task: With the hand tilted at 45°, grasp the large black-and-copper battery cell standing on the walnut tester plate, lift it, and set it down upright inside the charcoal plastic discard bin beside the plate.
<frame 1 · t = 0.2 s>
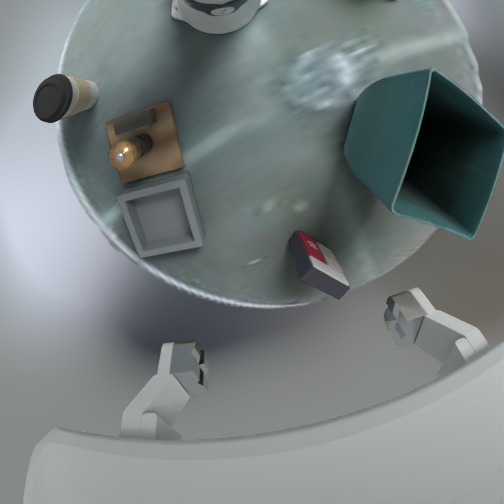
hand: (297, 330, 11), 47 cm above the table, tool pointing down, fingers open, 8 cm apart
grey box: (309, 244, 65), on the table
flower pot: (373, 130, 51), on the table
battery cell: (142, 143, 48), point 1 cm above the table, touching tester plate
coffee cup: (85, 95, 42), on the table
tester plate: (145, 142, 49), on the table
discard bin: (164, 211, 57), on the table
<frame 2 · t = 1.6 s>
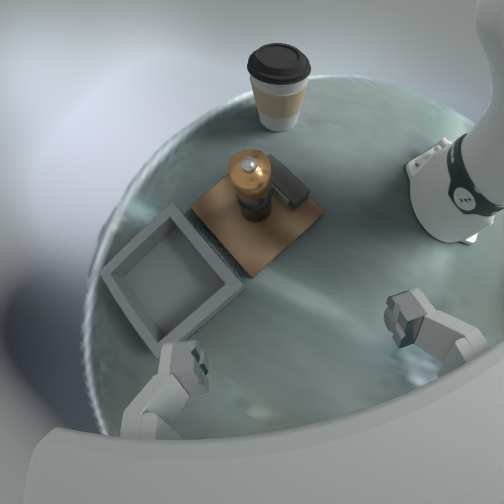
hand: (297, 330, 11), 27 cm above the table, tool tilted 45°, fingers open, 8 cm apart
battery cell: (256, 208, 39), point 1 cm above the table, touching tester plate
coffee cup: (278, 117, 44), on the table
tester plate: (256, 211, 40), on the table
discard bin: (175, 282, 39), on the table
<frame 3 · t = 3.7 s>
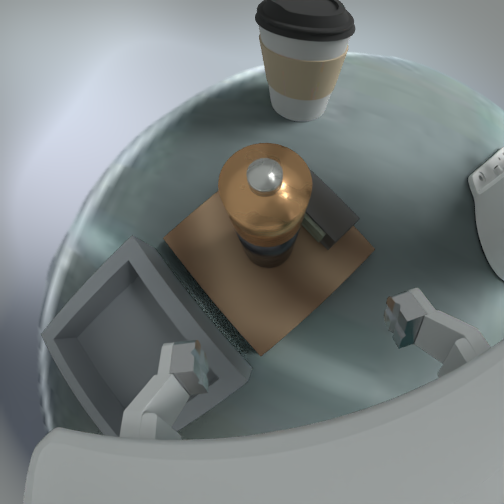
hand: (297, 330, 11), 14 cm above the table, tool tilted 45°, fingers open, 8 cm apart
battery cell: (268, 243, 24), point 1 cm above the table, touching tester plate
coffee cup: (298, 102, 29), on the table
tester plate: (268, 246, 26), on the table
discard bin: (145, 352, 24), on the table
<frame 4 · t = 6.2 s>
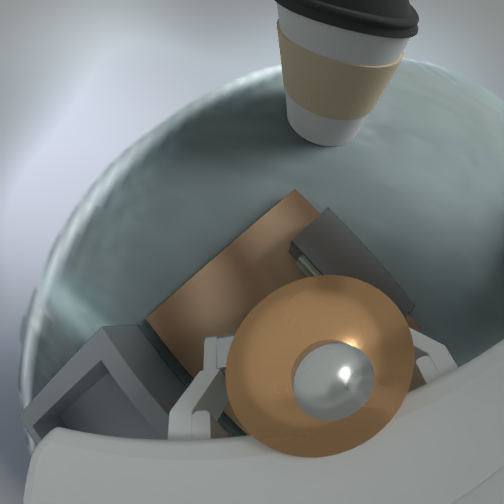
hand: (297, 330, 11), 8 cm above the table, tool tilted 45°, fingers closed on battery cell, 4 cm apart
battery cell: (289, 332, 17), point 2 cm above the table, touching gripper, tester plate
coffee cup: (323, 118, 22), on the table
tester plate: (287, 330, 18), on the table
discard bin: (138, 442, 17), on the table
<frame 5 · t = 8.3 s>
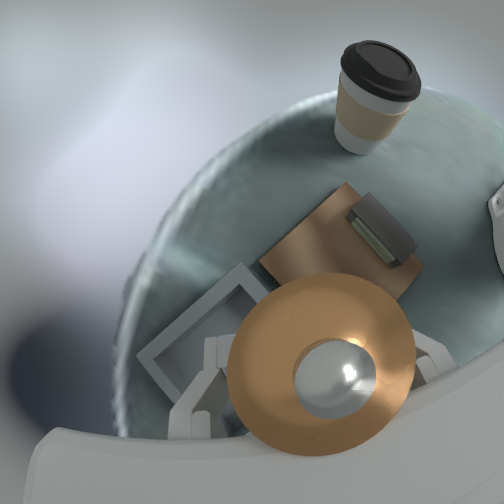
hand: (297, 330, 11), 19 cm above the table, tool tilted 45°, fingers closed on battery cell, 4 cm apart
battery cell: (289, 331, 17), point 13 cm above the table, touching gripper
coffee cup: (357, 135, 33), on the table
tester plate: (345, 266, 30), on the table
discard bin: (240, 360, 29), on the table
when the fingers open (9 cm above the table, at t = 10.9 s): battery cell drops 1 cm, resting on discard bin.
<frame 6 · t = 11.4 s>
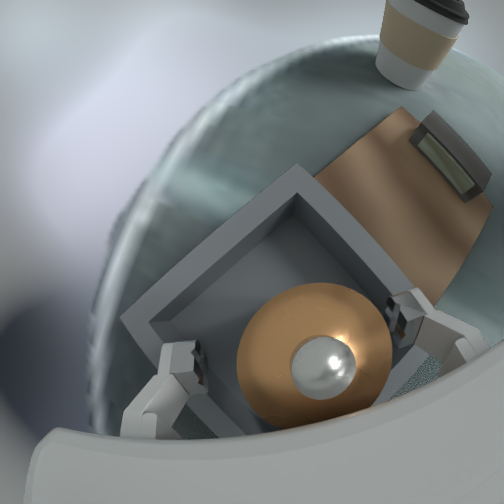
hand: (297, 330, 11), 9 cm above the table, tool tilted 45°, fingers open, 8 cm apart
battery cell: (288, 330, 18), point 1 cm above the table, touching discard bin
coffee cup: (399, 73, 25), on the table
tester plate: (414, 198, 21), on the table
discard bin: (286, 329, 19), on the table
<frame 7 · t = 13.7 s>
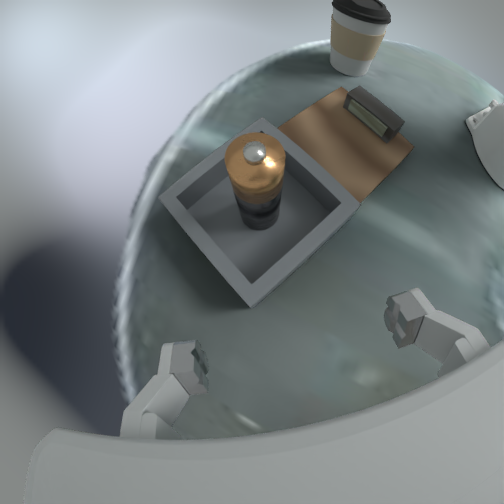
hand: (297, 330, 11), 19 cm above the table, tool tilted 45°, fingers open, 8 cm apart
battery cell: (259, 211, 31), point 1 cm above the table, touching discard bin
coffee cup: (348, 65, 37), on the table
tester plate: (347, 142, 33), on the table
discard bin: (259, 215, 32), on the table
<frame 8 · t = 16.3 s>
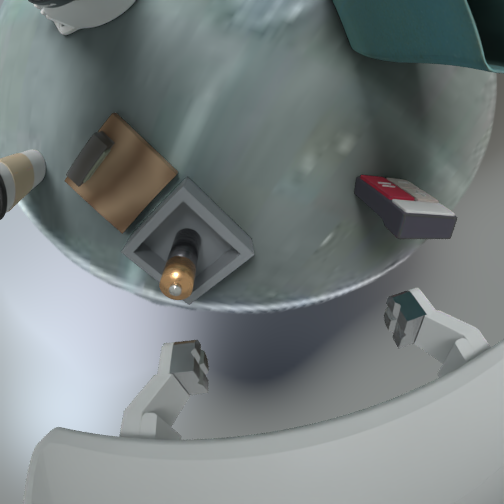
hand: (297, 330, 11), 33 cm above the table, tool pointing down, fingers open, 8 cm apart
grey box: (380, 186, 43), on the table
flower pot: (369, 14, 27), on the table
battery cell: (187, 240, 44), point 1 cm above the table, touching discard bin
coffee cup: (33, 167, 34), on the table
tester plate: (118, 173, 38), on the table
discard bin: (188, 237, 45), on the table
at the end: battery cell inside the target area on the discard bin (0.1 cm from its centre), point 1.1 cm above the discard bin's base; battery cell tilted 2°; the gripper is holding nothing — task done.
